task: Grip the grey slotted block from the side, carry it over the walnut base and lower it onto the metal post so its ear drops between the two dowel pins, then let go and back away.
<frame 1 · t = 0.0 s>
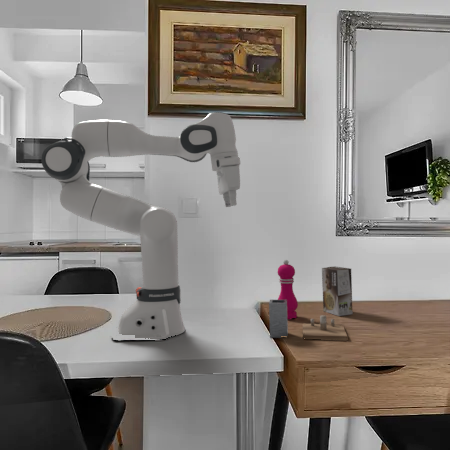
hand: (230, 206, 122), 39 cm above the table, tool pointing down, fingers open, 8 cm apart
coffee box: (337, 313, 136), on the table
pepper mill: (287, 317, 132), on the table
grey slotted block: (279, 335, 112), on the table
post plate: (323, 333, 112), on the table
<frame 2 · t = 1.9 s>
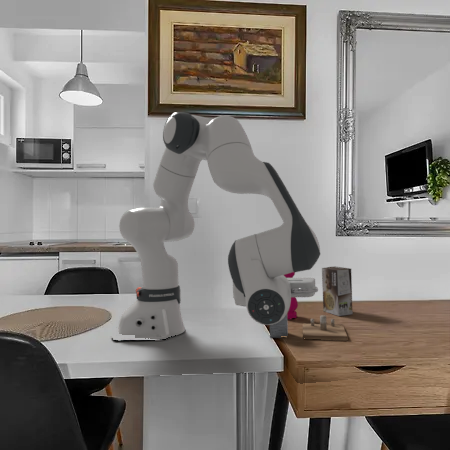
hand: (275, 281, 100), 18 cm above the table, tool horizontal, fingers open, 8 cm apart
nothing on the table moved.
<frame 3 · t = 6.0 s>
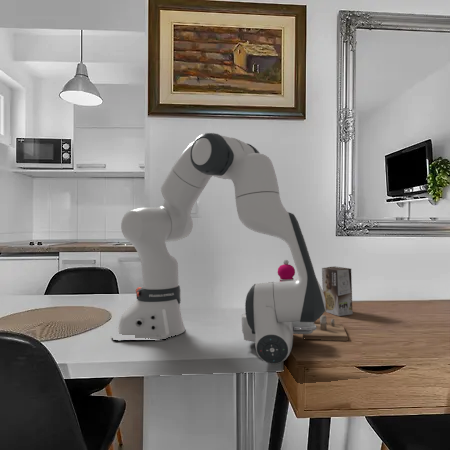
hand: (278, 315, 113), 6 cm above the table, tool horizontal, fingers closed on grey slotted block, 5 cm apart
grey slotted block: (279, 335, 112), on the table, touching gripper
everything else where it was.
when the fingers open (8 cm above the table, at t = 10.6 s): grey slotted block drops 1 cm, resting on post plate.
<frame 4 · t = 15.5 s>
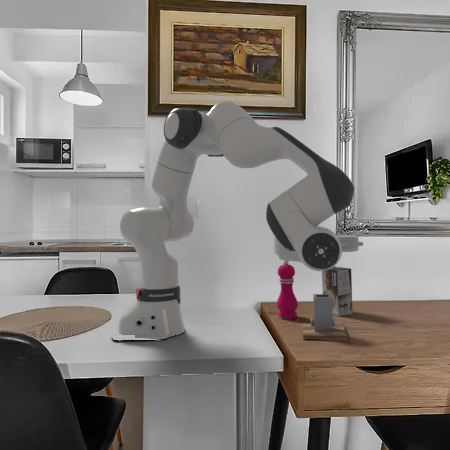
hand: (314, 241, 99), 28 cm above the table, tool horizontal, fingers open, 8 cm apart
grey slotted block: (323, 329, 112), point 1 cm above the table, touching post plate
everything else where it was.
at the end: grey slotted block 0.1 cm from the post plate (horizontally); grey slotted block point 1.2 cm above the table; grey slotted block tilted 0° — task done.
